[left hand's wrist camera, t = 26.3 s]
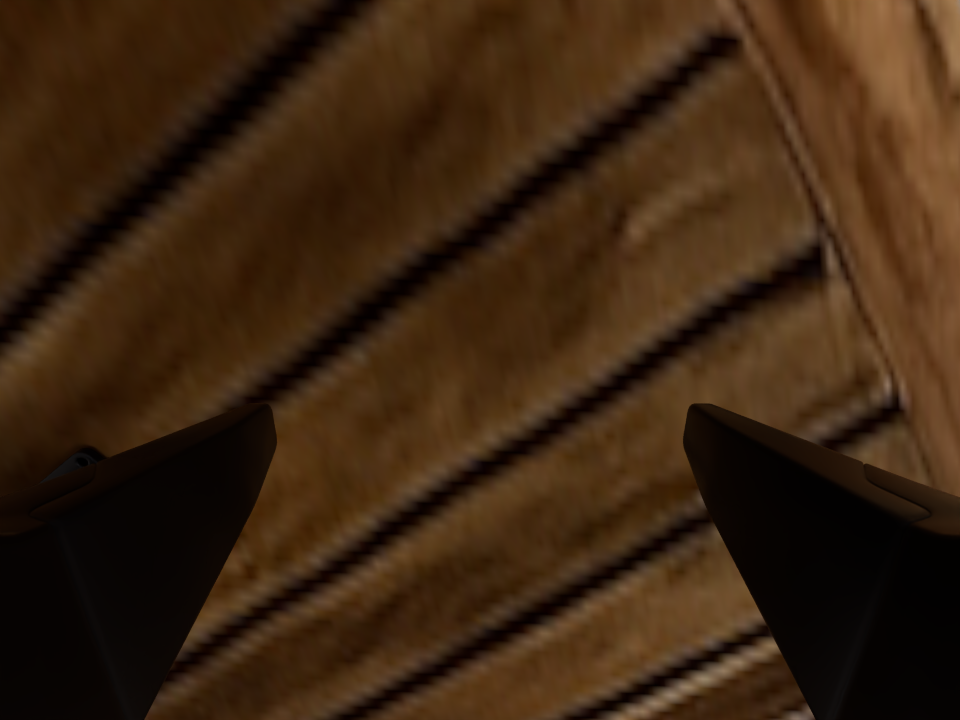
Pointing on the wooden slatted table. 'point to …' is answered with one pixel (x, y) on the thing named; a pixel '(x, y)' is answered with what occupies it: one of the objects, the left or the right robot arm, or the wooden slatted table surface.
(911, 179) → the wooden slatted table surface
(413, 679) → the wooden slatted table surface
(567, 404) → the wooden slatted table surface
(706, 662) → the wooden slatted table surface
